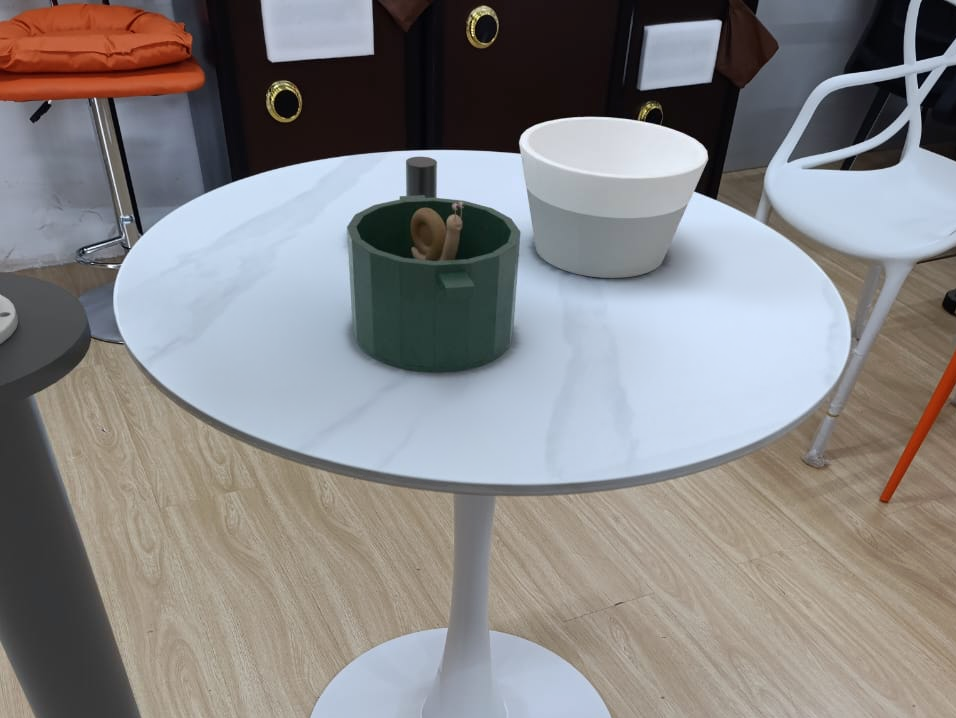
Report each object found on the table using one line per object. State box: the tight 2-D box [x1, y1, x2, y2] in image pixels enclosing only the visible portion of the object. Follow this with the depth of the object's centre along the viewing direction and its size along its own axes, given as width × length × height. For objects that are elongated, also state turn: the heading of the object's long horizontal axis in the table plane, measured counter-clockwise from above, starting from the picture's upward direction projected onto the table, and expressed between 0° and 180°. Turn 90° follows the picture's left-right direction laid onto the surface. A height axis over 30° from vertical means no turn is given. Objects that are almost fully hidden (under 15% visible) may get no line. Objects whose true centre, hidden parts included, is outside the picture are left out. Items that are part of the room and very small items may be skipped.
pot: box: [346, 195, 522, 373], centre depth 82 cm, size 15×20×10 cm
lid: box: [405, 156, 438, 198], centre depth 97 cm, size 16×16×8 cm
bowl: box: [518, 116, 709, 279], centre depth 97 cm, size 19×19×11 cm
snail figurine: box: [411, 200, 464, 261], centre depth 81 cm, size 5×6×12 cm
